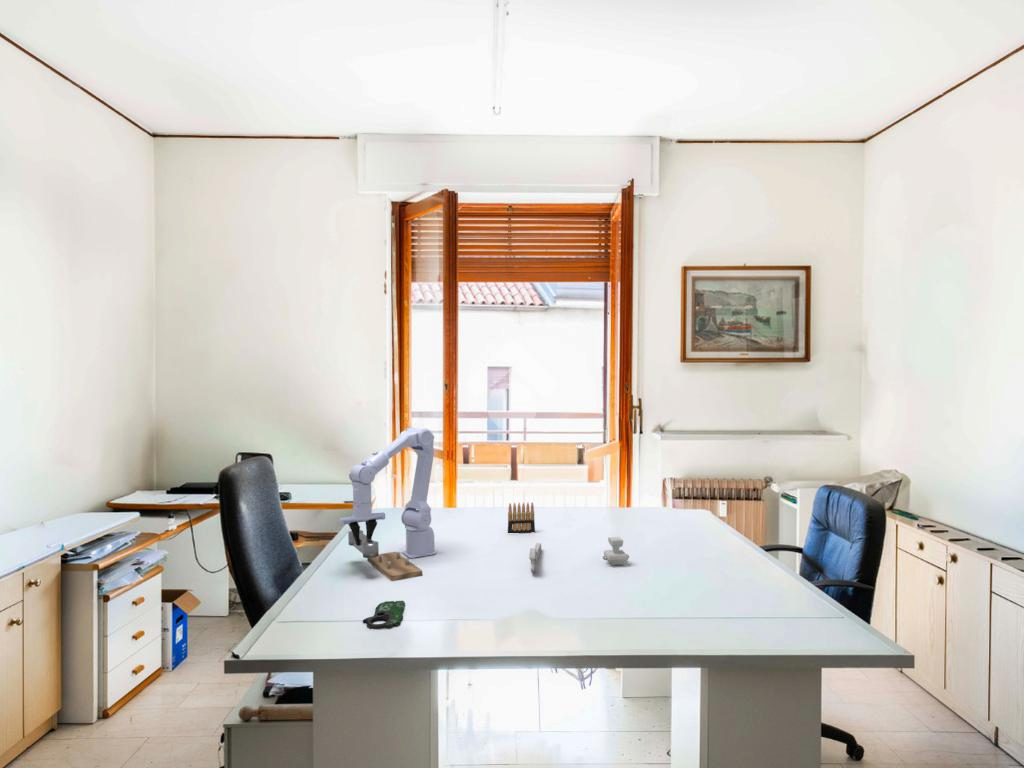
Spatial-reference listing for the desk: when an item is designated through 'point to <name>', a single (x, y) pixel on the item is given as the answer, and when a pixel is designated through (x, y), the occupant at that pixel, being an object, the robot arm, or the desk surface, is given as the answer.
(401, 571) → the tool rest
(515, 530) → the ammunition clip
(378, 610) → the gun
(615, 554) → the stamp
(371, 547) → the grey elongated piece
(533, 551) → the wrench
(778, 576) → the desk surface
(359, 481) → the robot arm
